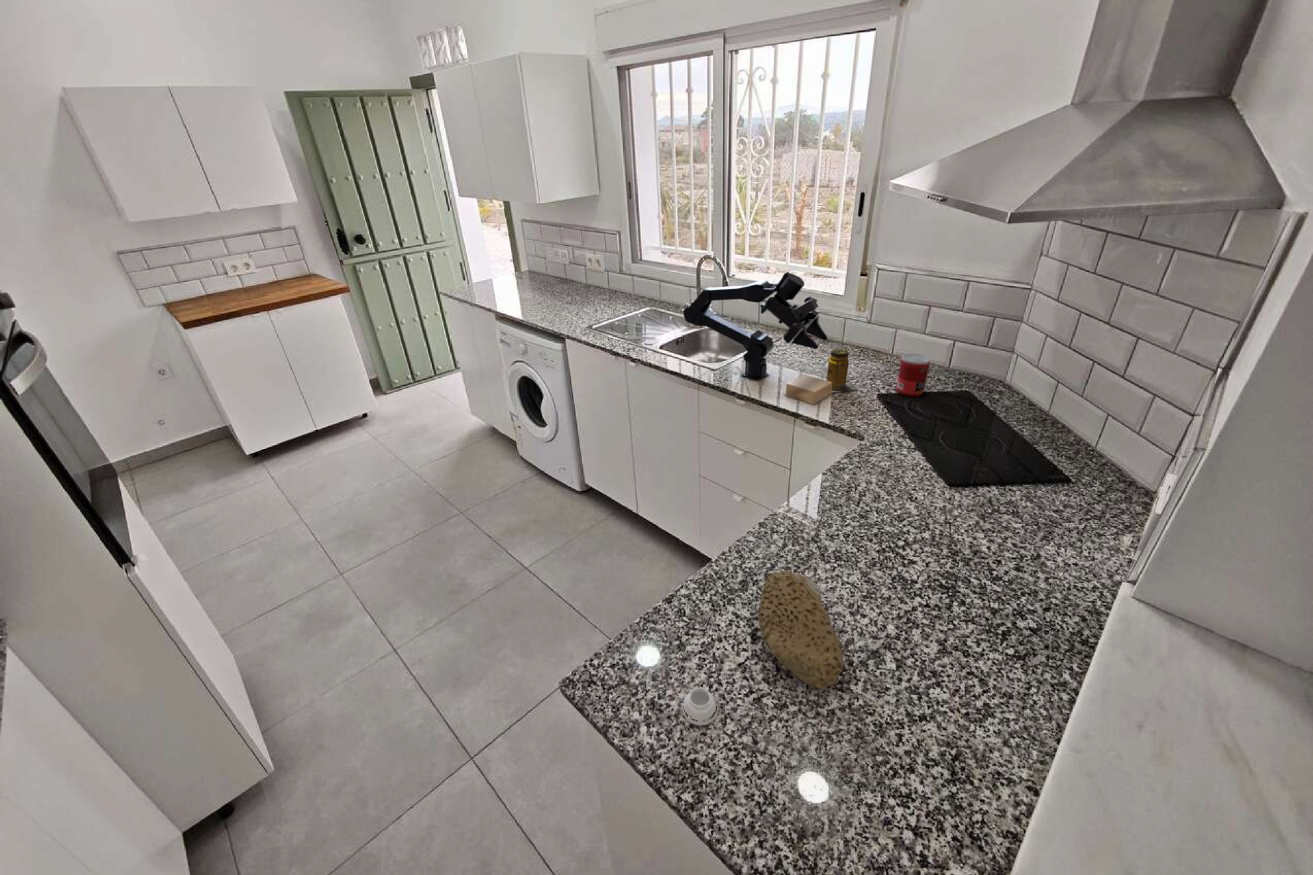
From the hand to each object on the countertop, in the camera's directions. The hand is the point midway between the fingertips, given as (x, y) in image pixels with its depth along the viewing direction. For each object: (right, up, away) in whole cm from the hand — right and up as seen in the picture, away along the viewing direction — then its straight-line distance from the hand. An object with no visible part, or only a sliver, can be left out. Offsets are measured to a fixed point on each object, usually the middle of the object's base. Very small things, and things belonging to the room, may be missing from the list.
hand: (822, 343), depth 166 cm
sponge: (-29, -62, -80) cm, 105 cm away
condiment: (+7, -13, +6) cm, 16 cm away
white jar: (-45, -68, -90) cm, 121 cm away
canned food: (+27, -15, +1) cm, 31 cm away
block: (-4, -16, +2) cm, 16 cm away
